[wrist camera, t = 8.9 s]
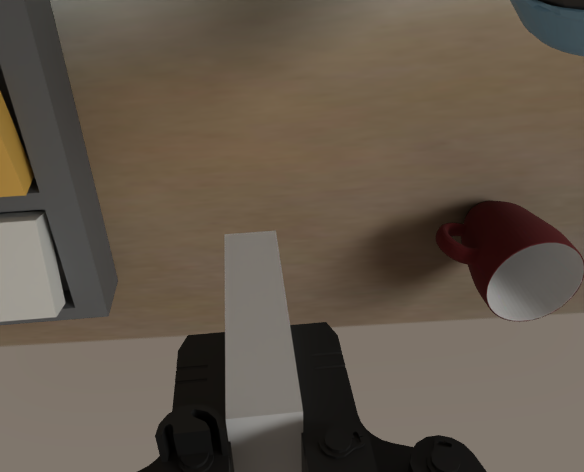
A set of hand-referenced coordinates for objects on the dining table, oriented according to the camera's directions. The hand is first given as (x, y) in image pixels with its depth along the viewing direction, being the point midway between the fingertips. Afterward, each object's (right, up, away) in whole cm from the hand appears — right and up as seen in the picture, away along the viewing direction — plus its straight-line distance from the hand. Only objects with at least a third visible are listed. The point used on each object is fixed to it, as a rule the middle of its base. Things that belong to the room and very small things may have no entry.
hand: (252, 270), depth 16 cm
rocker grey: (-20, -1, +27) cm, 33 cm away
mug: (+18, +3, +35) cm, 39 cm away
